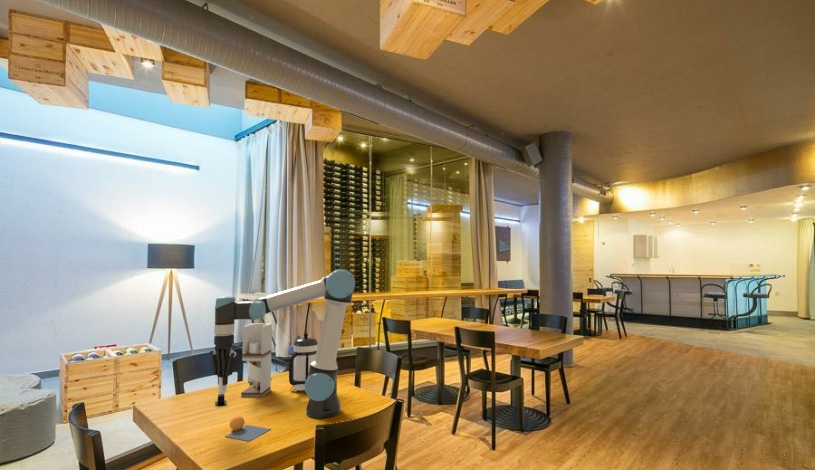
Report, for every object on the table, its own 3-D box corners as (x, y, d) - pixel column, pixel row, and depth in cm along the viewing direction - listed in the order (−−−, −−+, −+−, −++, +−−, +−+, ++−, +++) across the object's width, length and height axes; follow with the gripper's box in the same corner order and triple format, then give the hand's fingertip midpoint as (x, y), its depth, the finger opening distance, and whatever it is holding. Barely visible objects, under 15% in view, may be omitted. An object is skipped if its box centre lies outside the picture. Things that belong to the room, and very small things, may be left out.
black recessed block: (229, 407, 188) (229, 397, 189) (212, 410, 185) (212, 399, 185) (228, 399, 199) (228, 390, 200) (212, 402, 196) (212, 392, 197)
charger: (242, 385, 222) (254, 378, 237) (259, 385, 222) (269, 378, 237) (243, 377, 222) (254, 370, 237) (259, 377, 222) (269, 370, 237)
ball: (233, 418, 164) (238, 431, 163) (224, 421, 159) (229, 434, 157) (244, 411, 164) (249, 424, 162) (235, 414, 158) (241, 428, 157)
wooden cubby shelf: (250, 389, 213) (252, 323, 216) (270, 390, 213) (272, 323, 216) (241, 396, 202) (243, 326, 205) (261, 397, 202) (263, 326, 204)
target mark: (271, 429, 161) (271, 429, 161) (249, 441, 150) (249, 441, 150) (247, 425, 165) (247, 424, 165) (224, 436, 154) (224, 436, 154)
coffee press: (288, 387, 217) (289, 331, 219) (318, 385, 222) (318, 330, 224) (288, 397, 200) (289, 336, 203) (321, 394, 205) (321, 335, 208)
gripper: (243, 333, 167) (241, 392, 165) (219, 332, 171) (217, 388, 169) (229, 336, 160) (227, 397, 158) (205, 334, 164) (202, 393, 162)
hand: (222, 392), depth 164 cm, fingers closed
